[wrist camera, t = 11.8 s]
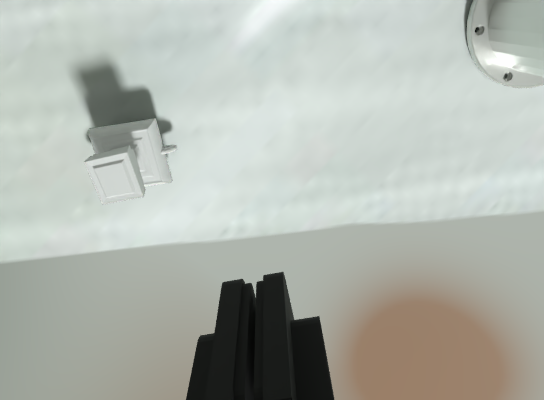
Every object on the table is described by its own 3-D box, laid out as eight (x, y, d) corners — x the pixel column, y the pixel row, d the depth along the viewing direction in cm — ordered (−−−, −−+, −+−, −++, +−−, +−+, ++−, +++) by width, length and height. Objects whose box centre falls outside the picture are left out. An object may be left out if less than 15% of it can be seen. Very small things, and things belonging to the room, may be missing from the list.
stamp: (172, 109, 42) (152, 132, 34) (188, 170, 45) (173, 204, 37) (86, 124, 43) (47, 149, 35) (107, 183, 45) (75, 219, 38)
